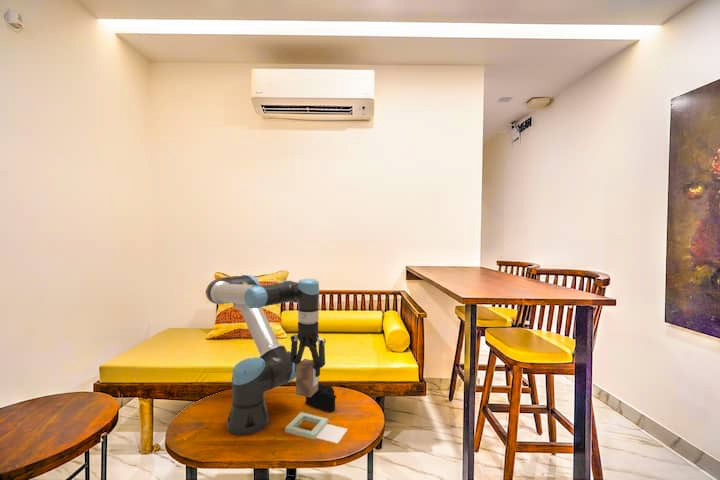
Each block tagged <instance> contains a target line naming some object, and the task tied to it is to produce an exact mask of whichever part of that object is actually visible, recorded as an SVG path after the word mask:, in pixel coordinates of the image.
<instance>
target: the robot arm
mask: <svg viewBox="0 0 720 480" xmlns="http://www.w3.org/2000/svg"><path fill="white" fill-rule="evenodd" d="M319 285H320V284H319V281H318V279H315V278H301V279H300V280H298V282H297V281H292V280H282V281H280V282H279V283H272V284H264V285H263V284H260V281H259V280H258V278H257V277H255V276H254V275H251V274H243V275H242V274H241V275H238V276H227V277H219V278H216V279H213V281H211V282H210V283H209V284H208V285H207V287H206V290H205V295H206V298H207V300H208V301H209V302H210V303H213V304H215V305H224V304H233V306H234V307H235V309H236V310H239V311H240V312H241V314H242V315H241V316H242V318H243V320H244V322H245V324H246V327H247V328H248V331H249V333H250V335H251V337H252V340H253V342H254V344H255V347H256V349H257V350H258V352H259V357H257V356H256V357H255V356H254V357H248V358H244V359H243V360H240V361H239V362H237V363H236V364H235V365H234V367H233V368H232V374H231V393H232V394H231V398H232V399H231V408H230V411H229V414H228V418H227V420H226V427H227V428H226V429H227V431H228V432H229V433H230V434H232V435H235V436H249V435H250V436H251V435H253V434H257V433H259V432H261V431H263V430H264V429H265V428H266V427H267V426H268V425H269V422H270V413H269V411H268V408H267V404H266V401H265V393H266V392H268V391H271V390H272V389H276V388H277V387H281V386H283V385H286V384H288V383H290V382H292V381H294V380H296V364H298V363H299V362H301V361H302V360H303V355H304V352H305V348H308V350H309V351H310V354H311V358H312V360H313V362H314V366H315V367H314V368H313V386H315V385H317V384H318V385H319V376H320V375H321V369H322V368H323V367H324V366H326V352H325V348H326V347H325V345H326V339H325V338H321V337H320V336H319V322H318V321H319V318H320V317H319V314H320V313H319V311H320V310H319V306H320V305H319V304H320V286H319ZM285 303H297V306H298V307H297V321H298V322H297V332H298V333H297V334H293V335H291V336H290V341H291V344H290V345H291V348H290V350H287V348H286V346H285V345H282V344H280V342H279V341H278V338H277V337H276V334H275V332H274V330H273V328H272V326H271V324H270V322H269V321H268V317H266V314H265V312H264V310H263V308H264V307H268V306H273V305H274V306H275V305H281V304H285ZM317 345H318V346H317ZM317 348H318V349H317Z"/></svg>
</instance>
